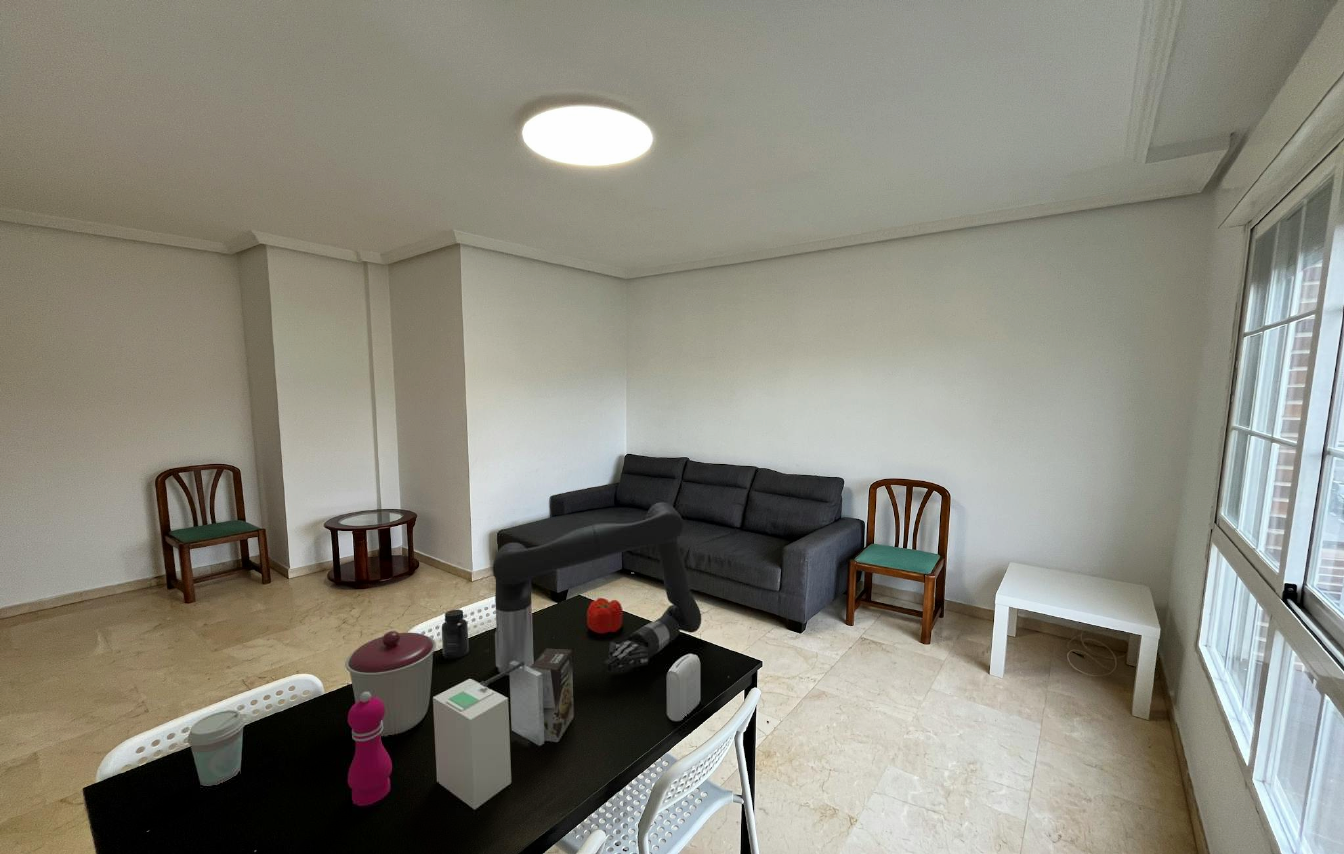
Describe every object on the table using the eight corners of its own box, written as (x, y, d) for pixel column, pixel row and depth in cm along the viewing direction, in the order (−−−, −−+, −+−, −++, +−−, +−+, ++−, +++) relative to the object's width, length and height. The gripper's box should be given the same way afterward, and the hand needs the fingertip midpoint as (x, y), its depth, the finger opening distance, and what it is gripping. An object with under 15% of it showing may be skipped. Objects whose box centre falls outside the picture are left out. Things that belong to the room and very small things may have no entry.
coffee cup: (202, 803, 100) (196, 741, 99) (184, 785, 105) (179, 726, 104) (256, 774, 108) (252, 716, 107) (238, 759, 112) (233, 703, 111)
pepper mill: (360, 781, 105) (354, 682, 104) (399, 779, 106) (394, 680, 104) (341, 811, 98) (334, 705, 97) (383, 808, 99) (377, 702, 97)
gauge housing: (437, 781, 105) (432, 695, 104) (473, 757, 112) (469, 676, 110) (474, 809, 98) (470, 717, 97) (511, 782, 105) (507, 695, 103)
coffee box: (558, 742, 116) (556, 670, 115) (530, 739, 117) (528, 667, 116) (574, 716, 125) (573, 649, 124) (548, 713, 126) (546, 646, 125)
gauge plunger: (472, 754, 110) (468, 676, 108) (516, 726, 118) (513, 653, 117) (500, 773, 104) (497, 690, 103) (544, 742, 113) (541, 666, 112)
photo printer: (687, 696, 133) (687, 647, 132) (703, 701, 131) (702, 651, 129) (664, 718, 124) (663, 666, 123) (680, 724, 122) (679, 671, 121)
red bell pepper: (579, 633, 166) (578, 604, 166) (604, 618, 176) (603, 591, 176) (607, 642, 161) (606, 612, 160) (631, 626, 171) (630, 598, 170)
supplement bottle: (474, 650, 156) (472, 609, 155) (455, 661, 150) (453, 619, 149) (456, 645, 159) (454, 605, 158) (437, 656, 153) (435, 615, 152)
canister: (453, 720, 124) (448, 630, 123) (366, 761, 111) (360, 661, 109) (419, 690, 137) (415, 608, 135) (338, 723, 124) (332, 633, 122)
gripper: (630, 620, 152) (585, 645, 138) (668, 632, 144) (625, 660, 130) (630, 646, 153) (586, 674, 139) (669, 659, 145) (626, 690, 131)
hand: (605, 667), depth 134 cm, fingers closed
